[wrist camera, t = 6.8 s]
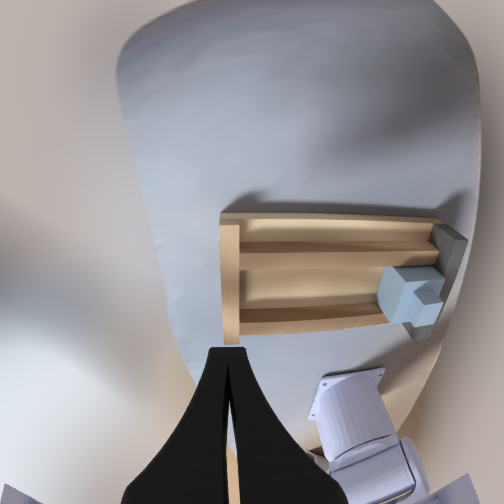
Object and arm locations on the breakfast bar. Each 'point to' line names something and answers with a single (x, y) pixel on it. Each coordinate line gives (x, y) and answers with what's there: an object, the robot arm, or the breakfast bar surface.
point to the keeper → (410, 294)
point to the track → (323, 269)
